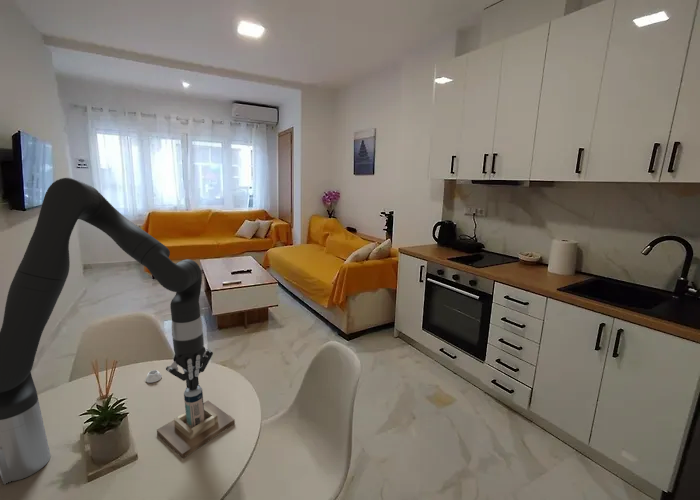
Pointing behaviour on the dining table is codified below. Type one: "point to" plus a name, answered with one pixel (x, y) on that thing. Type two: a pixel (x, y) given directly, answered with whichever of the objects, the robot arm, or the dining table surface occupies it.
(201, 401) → the beer can
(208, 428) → the board
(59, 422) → the dining table surface
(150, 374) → the white rounded piece
